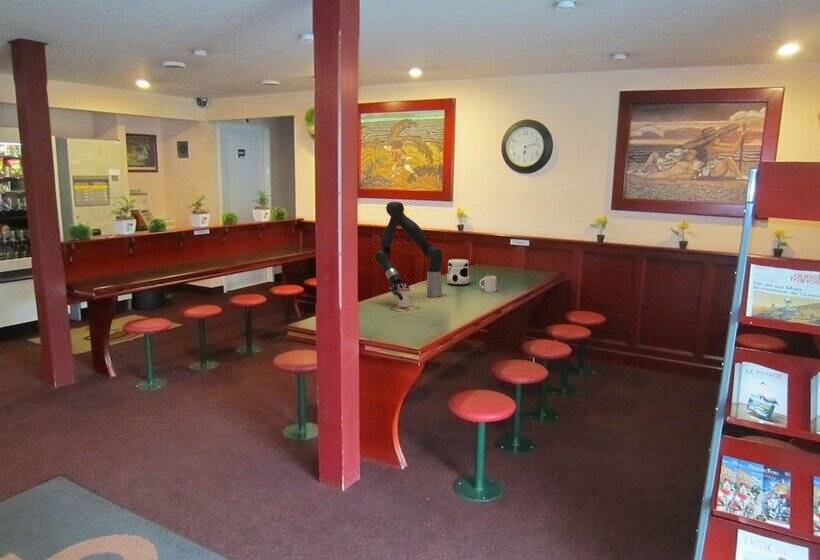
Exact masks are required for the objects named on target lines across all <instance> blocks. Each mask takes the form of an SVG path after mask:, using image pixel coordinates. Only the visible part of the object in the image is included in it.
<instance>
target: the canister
mask: <svg viewBox="0 0 820 560" xmlns="http://www.w3.org/2000/svg"><path fill="white" fill-rule="evenodd" d="M397 290H398V288H397ZM409 290H410V291H411V289H410V287H409V288H400V289H399V291H400V294H401V295H402V297H403V299H402V300H400V299H399V297H398V296H397V306H401V307H406V306H409V305H410V298H409V295H410V291H409Z"/></svg>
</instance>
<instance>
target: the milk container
mask: <svg viewBox="0 0 820 560" xmlns="http://www.w3.org/2000/svg"><path fill="white" fill-rule="evenodd" d="M469 262H470V261H469V260H468V259H463V258H462V259H461V258H453V259H449V260H448V261H447V274H446V283H448V284H449V285H453V286H465V285H469V283H470V280H471V277H470V272H469V271H470V265H469V264H470V263H469Z"/></svg>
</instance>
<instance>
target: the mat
mask: <svg viewBox="0 0 820 560" xmlns="http://www.w3.org/2000/svg"><path fill="white" fill-rule="evenodd" d="M417 308H418V309H420V307H418V306H415V305H412V304H409V306H406V307H401V306H398V305H397V306H392V307H388V308H387V309H388V310H391V309H392V311H394V310H395V312H397V313H402V311H403V312H408V311H413V310H417ZM412 309H413V310H412Z"/></svg>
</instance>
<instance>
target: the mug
mask: <svg viewBox="0 0 820 560" xmlns="http://www.w3.org/2000/svg"><path fill="white" fill-rule="evenodd" d="M483 281H484V283H483V284H484V286H483V285H482V282H483ZM478 285H479V287H480V288H481V289H483V290H484V292H485V293H495V292H496V291H497V276H495V275H485V276H484V277H483V278H481V279H480V280H479V283H478Z"/></svg>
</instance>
